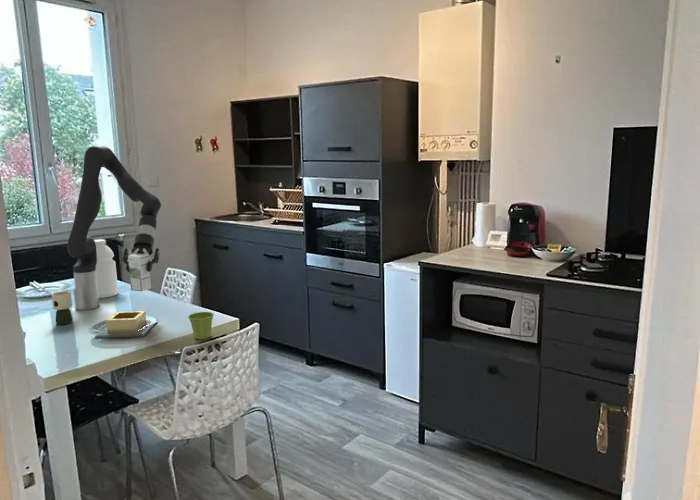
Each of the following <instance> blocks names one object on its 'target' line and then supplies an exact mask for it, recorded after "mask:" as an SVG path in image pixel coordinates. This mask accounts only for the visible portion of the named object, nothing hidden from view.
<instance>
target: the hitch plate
mask: <svg viewBox="0 0 700 500" xmlns="http://www.w3.org/2000/svg"><path fill="white" fill-rule="evenodd" d="M150 320H151V319H149V320H147V312H146V310H131V311H116V312H114V314H112V315H111V316H109V318H107V319H106V320H105V321H106V326H105V327H104V328H102V330H100V331H99V332H98V333H97V334H96V335H95V339H109V338H110V339H112V338H115V339H116V338H137V337H139V338H142V337H144V336H146V335H147V333H148V332H150V330H151V329H153V327H152V325H153V324H152V325H149V326H147V328H145V329H142V330H139V329H141V328H143V327H144V326H146V325H148V324H150V323H151V321H150ZM155 320H156V321H157V322H158V319H155ZM138 330H139V331H138Z"/></svg>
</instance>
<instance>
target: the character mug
mask: <svg viewBox="0 0 700 500" xmlns="http://www.w3.org/2000/svg"><path fill="white" fill-rule="evenodd" d="M72 299H73V298H72V292H71V291H68V290H66V291H65V290H64V291H57V292H56V291H55V292H53V293H51V301H52V303H51V304H52V309H53V310H56V311H55V323H56V325H66V324H67V323H70V322H73V320H74V319H73V316H72V312H71V308H72V307H73V302H72Z"/></svg>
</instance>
